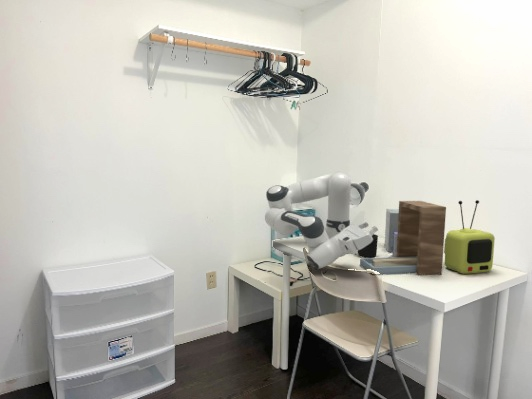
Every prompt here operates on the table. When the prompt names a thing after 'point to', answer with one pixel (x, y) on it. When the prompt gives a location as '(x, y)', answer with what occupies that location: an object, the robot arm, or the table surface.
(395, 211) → the hard drive box
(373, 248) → the pen holder
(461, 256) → the television
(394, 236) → the ink cartridge box
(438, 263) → the shelf
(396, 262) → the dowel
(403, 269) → the tray
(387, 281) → the table surface
